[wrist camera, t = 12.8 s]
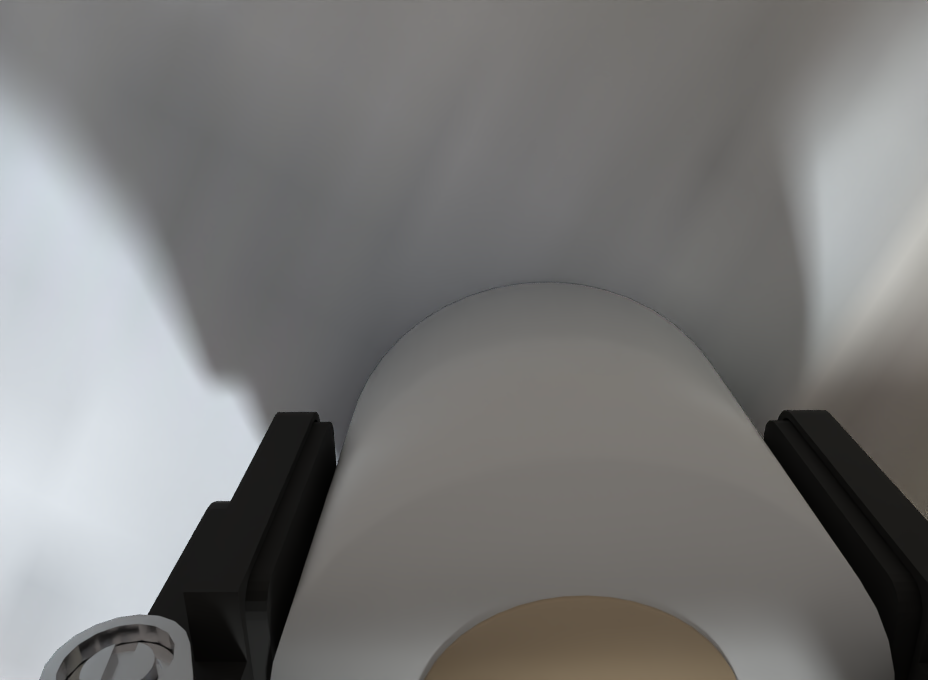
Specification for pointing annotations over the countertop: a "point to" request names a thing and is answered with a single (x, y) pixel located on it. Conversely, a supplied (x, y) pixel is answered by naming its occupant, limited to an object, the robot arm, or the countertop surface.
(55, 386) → the countertop surface
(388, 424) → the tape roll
